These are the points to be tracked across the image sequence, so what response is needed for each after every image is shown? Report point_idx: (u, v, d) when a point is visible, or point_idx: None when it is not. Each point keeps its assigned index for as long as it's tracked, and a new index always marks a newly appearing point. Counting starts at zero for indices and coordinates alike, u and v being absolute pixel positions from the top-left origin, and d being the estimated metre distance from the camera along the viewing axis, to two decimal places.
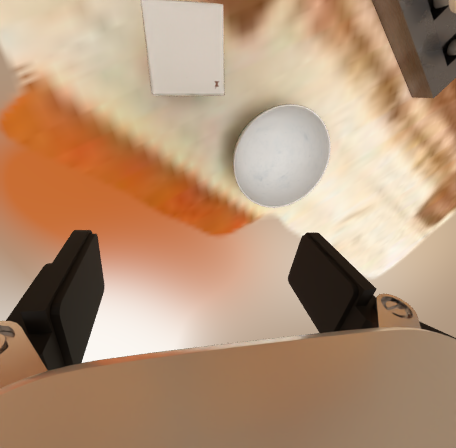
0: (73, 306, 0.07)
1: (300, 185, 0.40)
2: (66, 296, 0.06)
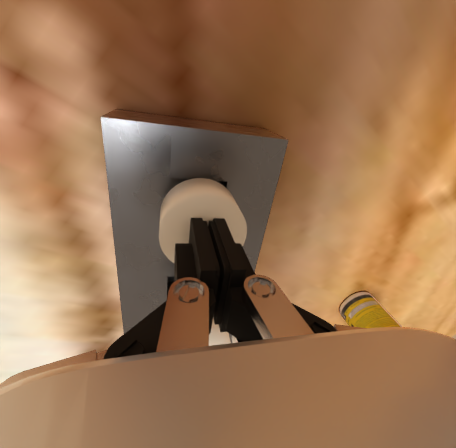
0: None
1: None
2: None
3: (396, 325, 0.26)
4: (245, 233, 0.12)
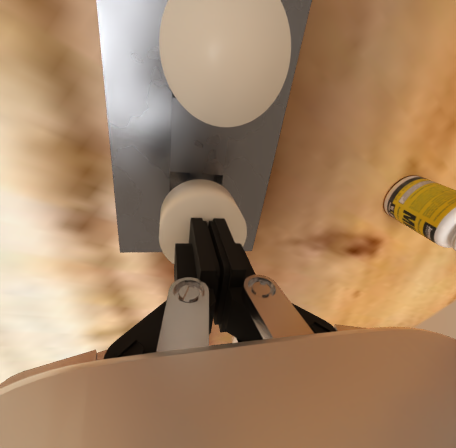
0: None
1: None
2: None
3: None
4: None
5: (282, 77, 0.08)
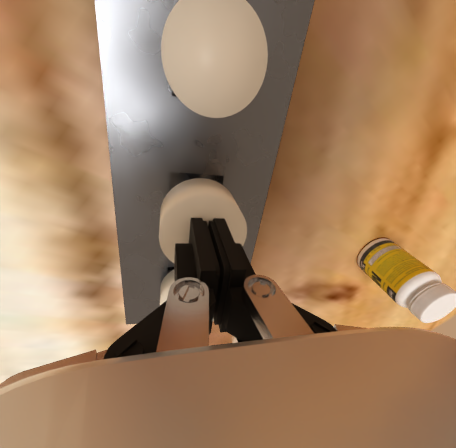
0: None
1: None
2: None
3: (424, 266, 0.23)
4: (265, 63, 0.10)
5: (242, 241, 0.12)
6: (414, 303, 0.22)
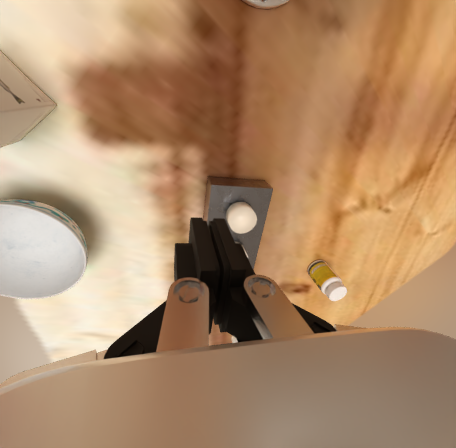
0: None
1: (38, 284, 0.35)
2: None
3: (334, 274, 0.49)
4: (256, 220, 0.36)
5: None
6: (327, 291, 0.48)
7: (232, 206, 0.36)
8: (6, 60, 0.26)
